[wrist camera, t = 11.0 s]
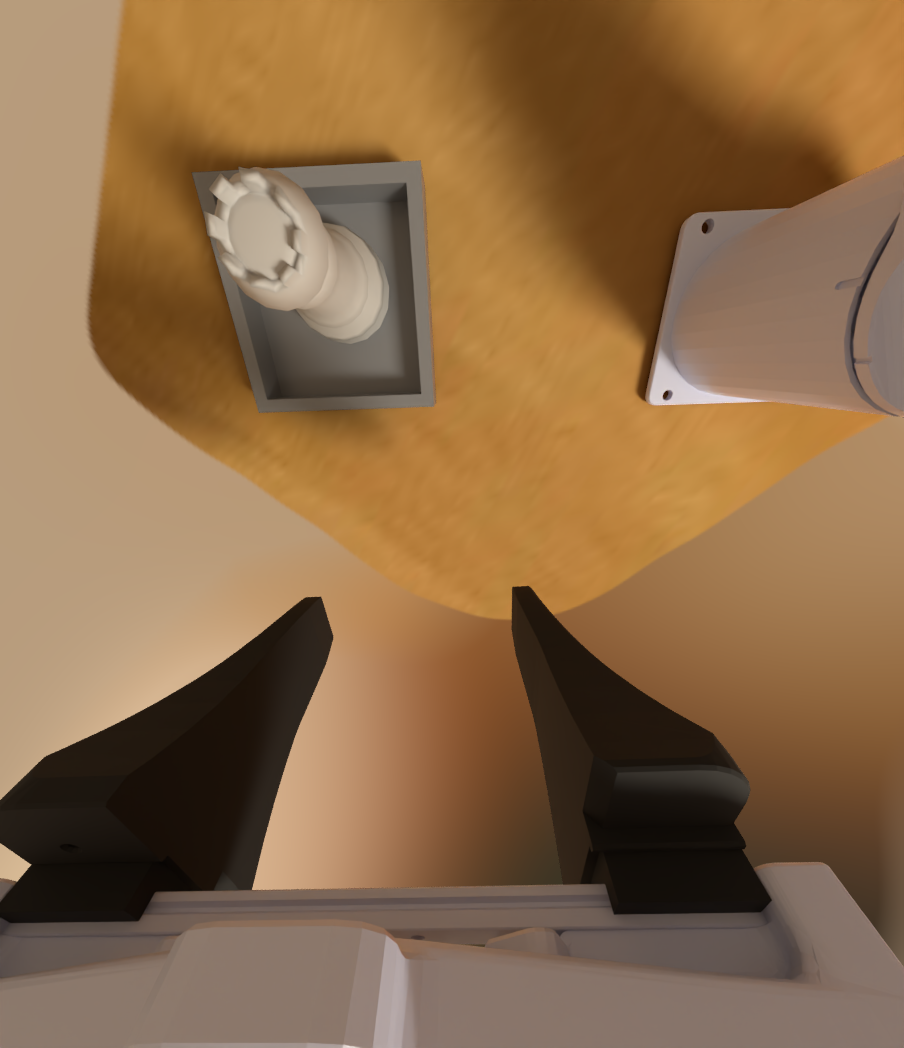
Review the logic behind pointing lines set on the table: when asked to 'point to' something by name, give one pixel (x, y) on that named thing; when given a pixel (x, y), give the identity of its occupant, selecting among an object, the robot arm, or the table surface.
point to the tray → (406, 331)
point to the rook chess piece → (296, 255)
